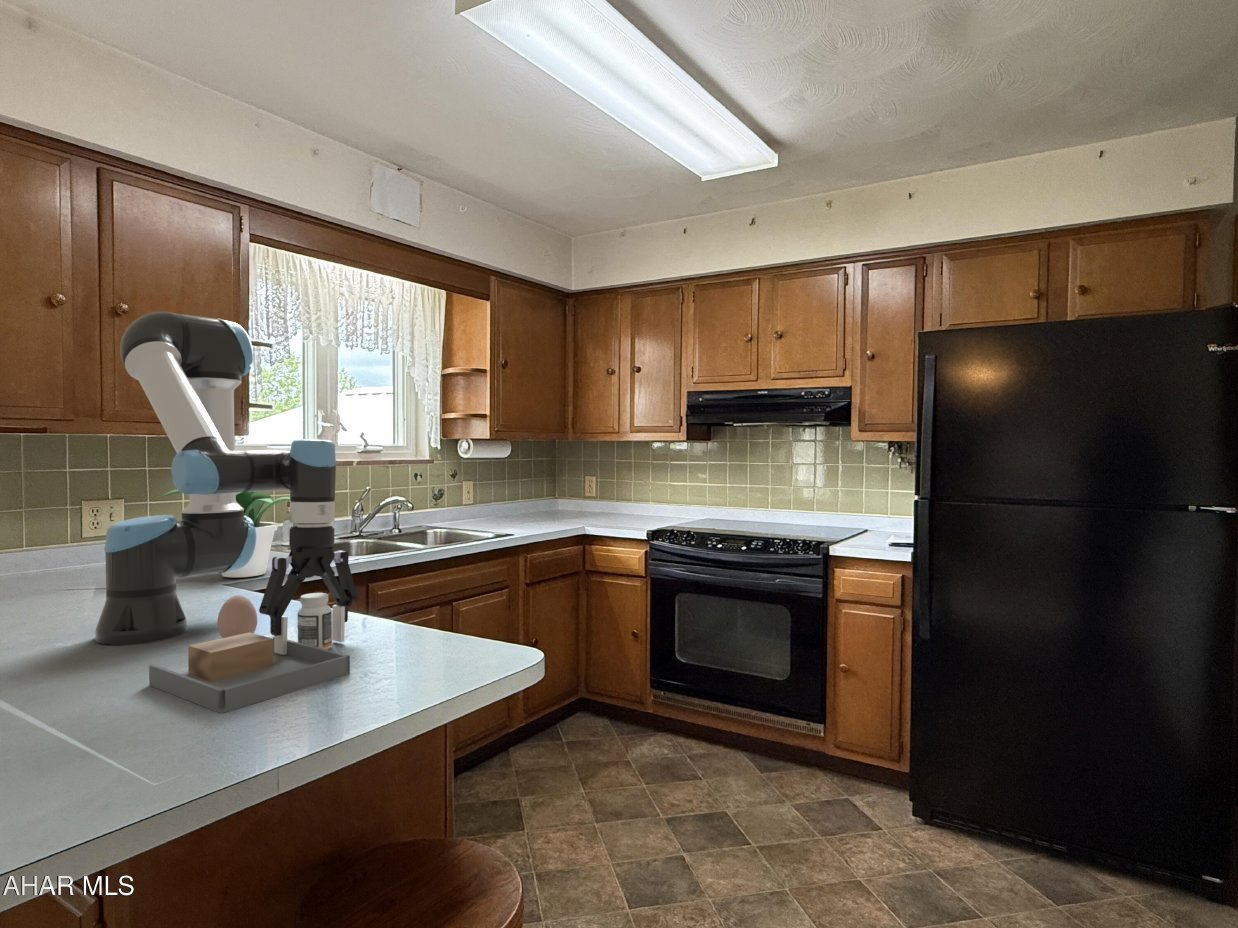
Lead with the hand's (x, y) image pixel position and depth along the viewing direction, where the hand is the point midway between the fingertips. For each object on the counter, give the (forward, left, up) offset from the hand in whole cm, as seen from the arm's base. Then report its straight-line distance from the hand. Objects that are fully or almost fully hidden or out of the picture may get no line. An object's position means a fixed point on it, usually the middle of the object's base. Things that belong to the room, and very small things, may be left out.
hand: (310, 646), depth 131 cm
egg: (-15, -5, -1) cm, 16 cm away
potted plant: (-87, +33, -1) cm, 93 cm away
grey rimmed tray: (+7, -15, -1) cm, 17 cm away
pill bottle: (0, +1, -1) cm, 1 cm away
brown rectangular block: (+1, -15, -1) cm, 15 cm away
